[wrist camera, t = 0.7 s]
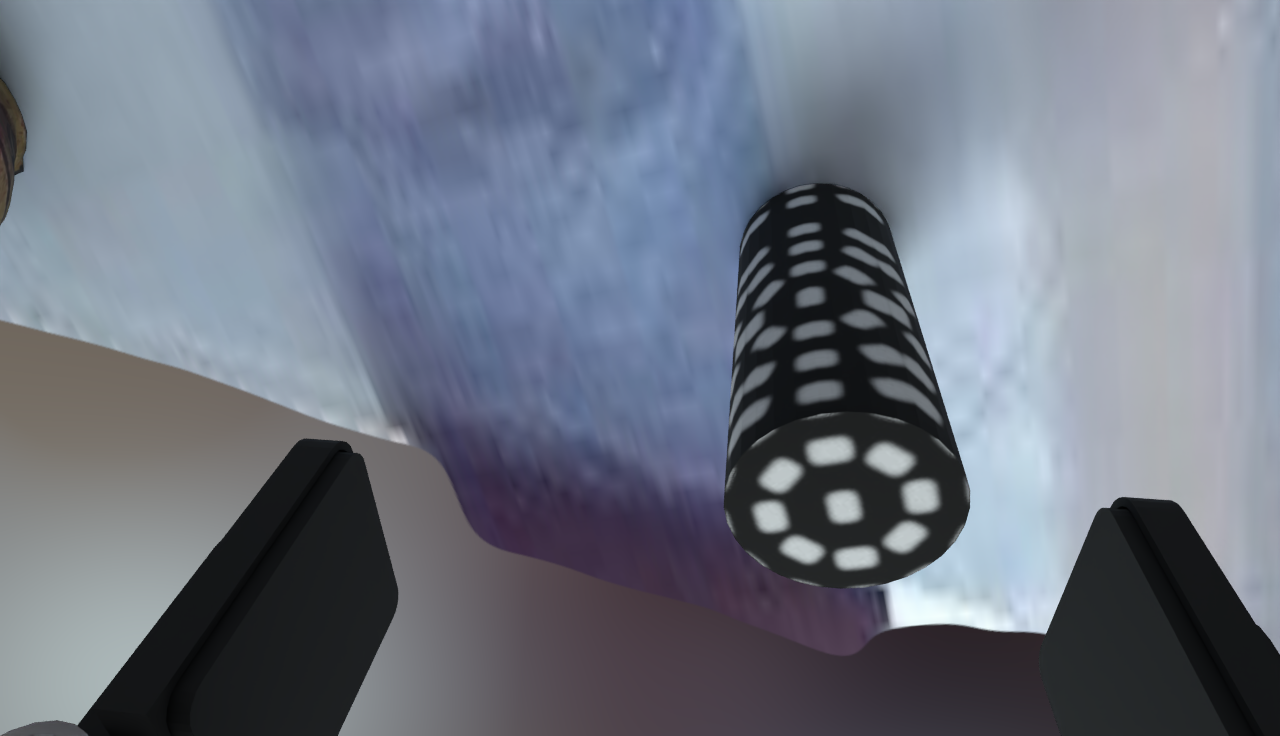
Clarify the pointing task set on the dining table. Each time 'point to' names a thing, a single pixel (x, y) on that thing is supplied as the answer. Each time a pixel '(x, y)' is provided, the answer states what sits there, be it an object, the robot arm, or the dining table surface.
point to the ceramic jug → (10, 146)
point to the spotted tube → (835, 401)
